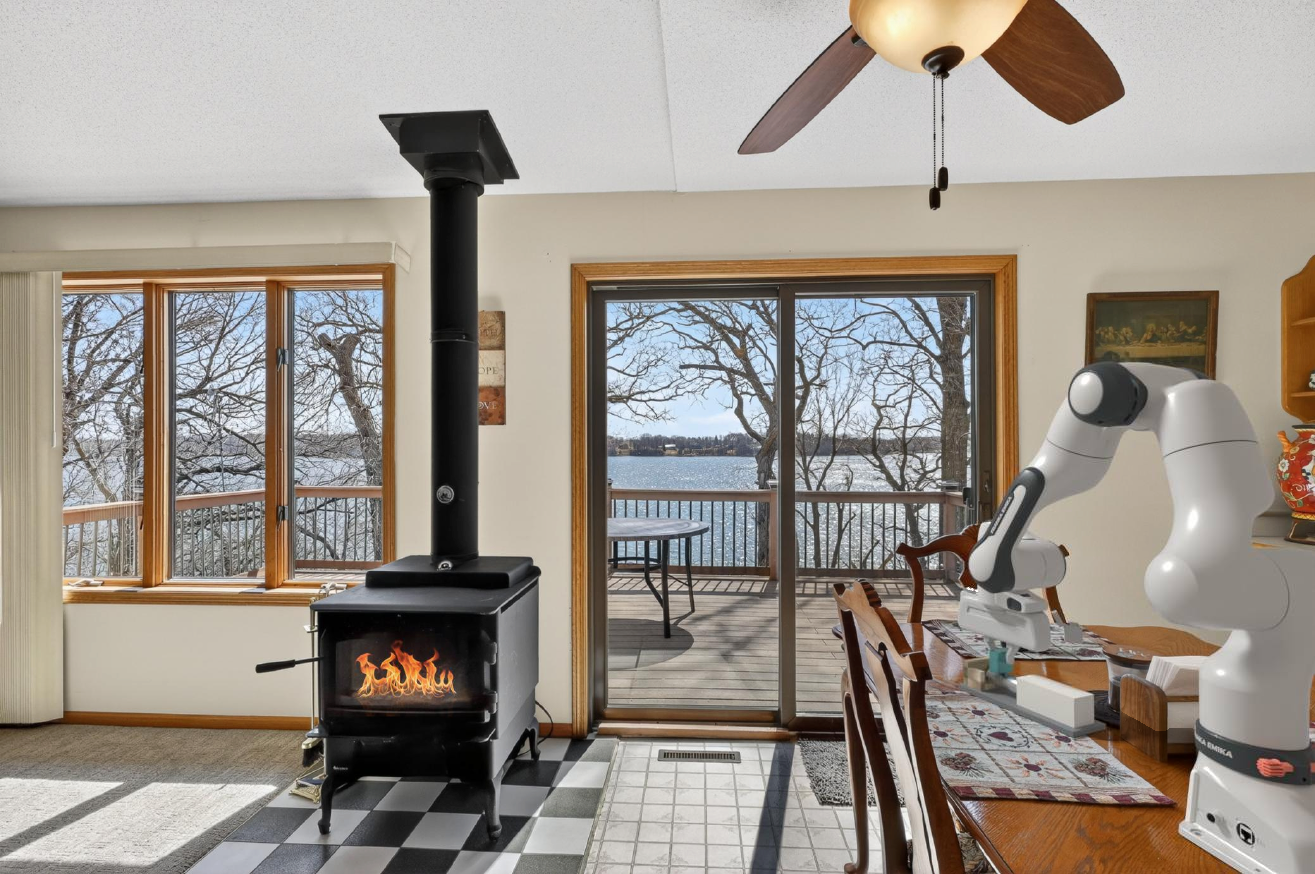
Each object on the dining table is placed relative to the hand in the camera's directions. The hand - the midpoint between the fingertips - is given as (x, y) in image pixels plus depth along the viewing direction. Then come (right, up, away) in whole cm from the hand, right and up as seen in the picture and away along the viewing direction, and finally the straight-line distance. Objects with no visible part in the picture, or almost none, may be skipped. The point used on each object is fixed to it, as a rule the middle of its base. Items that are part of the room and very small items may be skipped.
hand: (1001, 660), depth 139 cm
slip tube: (+2, -6, -5) cm, 8 cm away
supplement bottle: (+21, -8, +34) cm, 41 cm away
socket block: (-2, -7, +4) cm, 8 cm away
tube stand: (+2, -8, -6) cm, 10 cm away
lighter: (+38, -8, +40) cm, 56 cm away
